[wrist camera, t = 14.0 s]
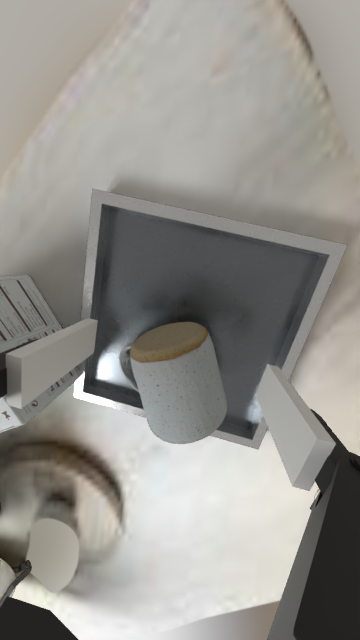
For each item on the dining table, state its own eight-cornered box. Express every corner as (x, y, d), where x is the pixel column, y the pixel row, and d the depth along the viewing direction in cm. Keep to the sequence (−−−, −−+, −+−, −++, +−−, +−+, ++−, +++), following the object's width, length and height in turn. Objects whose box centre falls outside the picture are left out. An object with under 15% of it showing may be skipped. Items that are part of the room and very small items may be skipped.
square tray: (83, 387, 25) (73, 397, 23) (103, 196, 19) (92, 188, 17) (253, 434, 24) (258, 449, 22) (332, 247, 18) (347, 244, 16)
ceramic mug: (209, 311, 19) (206, 350, 12) (225, 380, 22) (230, 446, 15) (114, 330, 22) (65, 372, 15) (138, 390, 24) (106, 451, 17)
